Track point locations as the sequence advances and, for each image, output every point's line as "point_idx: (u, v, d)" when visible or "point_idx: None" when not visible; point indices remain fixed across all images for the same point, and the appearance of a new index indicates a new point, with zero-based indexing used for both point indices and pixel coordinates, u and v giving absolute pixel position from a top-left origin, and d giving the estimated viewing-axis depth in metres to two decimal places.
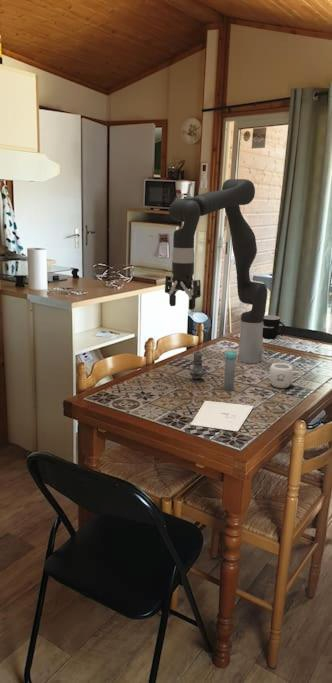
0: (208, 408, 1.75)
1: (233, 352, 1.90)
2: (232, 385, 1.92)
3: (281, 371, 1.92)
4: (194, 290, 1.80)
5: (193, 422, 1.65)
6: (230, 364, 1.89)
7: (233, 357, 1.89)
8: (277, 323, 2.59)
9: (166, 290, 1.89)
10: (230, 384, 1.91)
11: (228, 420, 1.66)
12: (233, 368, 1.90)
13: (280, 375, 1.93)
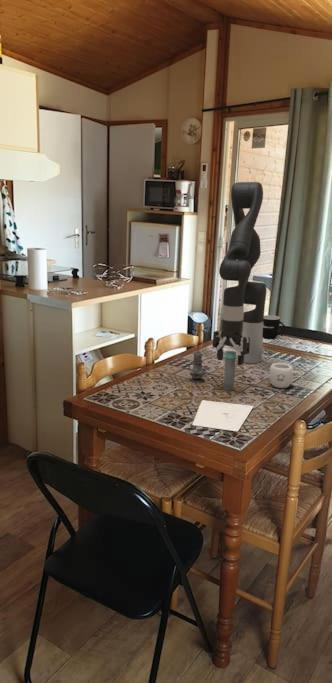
0: (208, 408, 1.75)
1: (233, 352, 1.90)
2: (232, 385, 1.92)
3: (281, 371, 1.92)
4: (244, 347, 1.84)
5: (193, 422, 1.65)
6: (230, 364, 1.89)
7: (233, 357, 1.89)
8: (277, 323, 2.59)
9: (214, 345, 1.93)
10: (230, 384, 1.91)
11: (228, 420, 1.66)
12: (233, 368, 1.90)
13: (280, 375, 1.93)
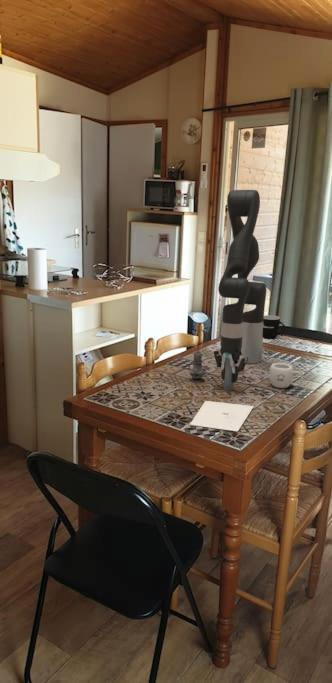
0: (207, 408, 1.75)
1: None
2: (232, 385, 1.92)
3: (281, 371, 1.92)
4: (239, 366, 1.87)
5: (193, 422, 1.65)
6: (230, 364, 1.89)
7: None
8: (277, 323, 2.59)
9: (218, 364, 1.93)
10: (230, 384, 1.91)
11: (228, 420, 1.66)
12: None
13: (280, 375, 1.93)
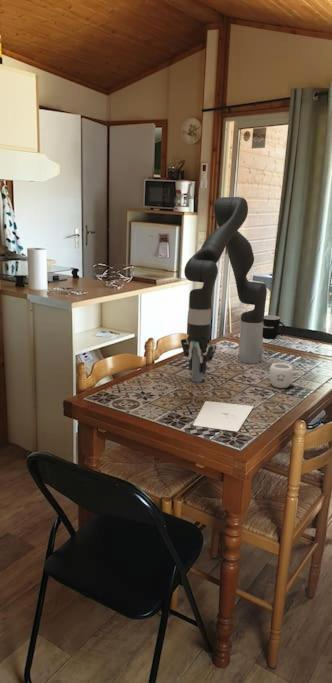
0: (207, 409, 1.75)
1: None
2: (200, 376, 1.80)
3: (281, 371, 1.92)
4: (207, 355, 1.75)
5: None
6: None
7: None
8: (277, 323, 2.59)
9: (186, 354, 1.81)
10: (197, 375, 1.79)
11: (228, 420, 1.66)
12: None
13: (280, 375, 1.93)
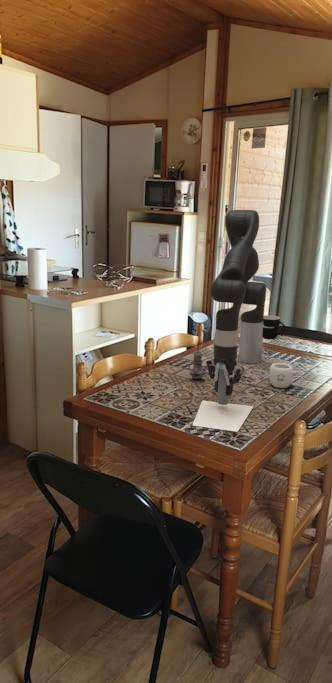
0: (207, 409, 1.75)
1: None
2: (226, 398, 1.74)
3: (281, 371, 1.92)
4: (234, 378, 1.69)
5: None
6: (224, 375, 1.71)
7: None
8: (277, 323, 2.59)
9: (211, 375, 1.75)
10: (224, 398, 1.73)
11: (228, 420, 1.66)
12: None
13: (280, 375, 1.93)
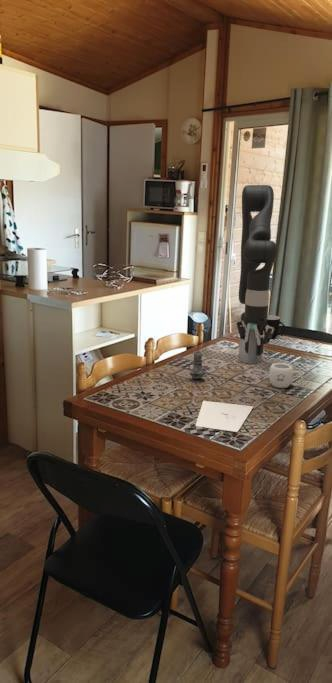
0: (207, 409, 1.75)
1: None
2: (257, 358, 1.77)
3: (281, 371, 1.92)
4: (265, 337, 1.73)
5: None
6: None
7: None
8: (277, 323, 2.59)
9: (242, 336, 1.79)
10: (254, 358, 1.77)
11: (228, 420, 1.66)
12: None
13: (280, 375, 1.93)
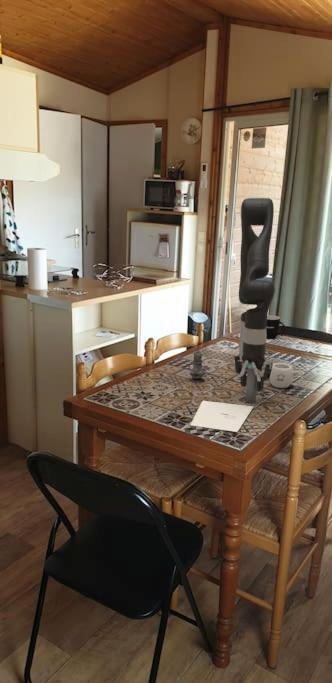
0: (207, 409, 1.75)
1: None
2: (254, 397, 1.81)
3: (281, 371, 1.92)
4: (265, 373, 1.75)
5: (193, 423, 1.65)
6: (253, 375, 1.79)
7: None
8: (277, 323, 2.59)
9: (237, 370, 1.83)
10: (252, 396, 1.81)
11: (228, 420, 1.66)
12: (256, 379, 1.79)
13: (280, 375, 1.93)
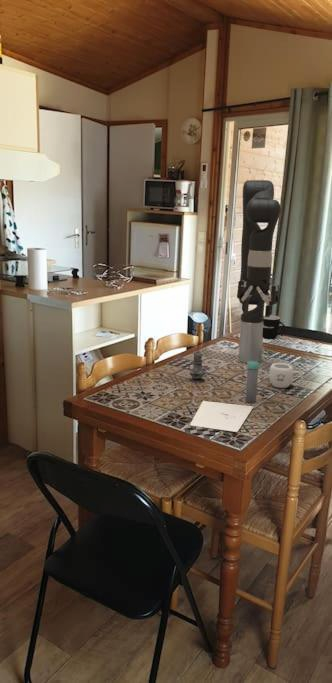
0: (207, 409, 1.75)
1: (256, 362, 1.79)
2: (254, 397, 1.81)
3: (281, 371, 1.92)
4: (272, 296, 1.68)
5: (192, 423, 1.65)
6: (253, 375, 1.79)
7: (256, 367, 1.78)
8: (277, 323, 2.59)
9: (239, 296, 1.77)
10: (252, 396, 1.81)
11: (228, 420, 1.66)
12: (256, 379, 1.79)
13: (280, 375, 1.93)
